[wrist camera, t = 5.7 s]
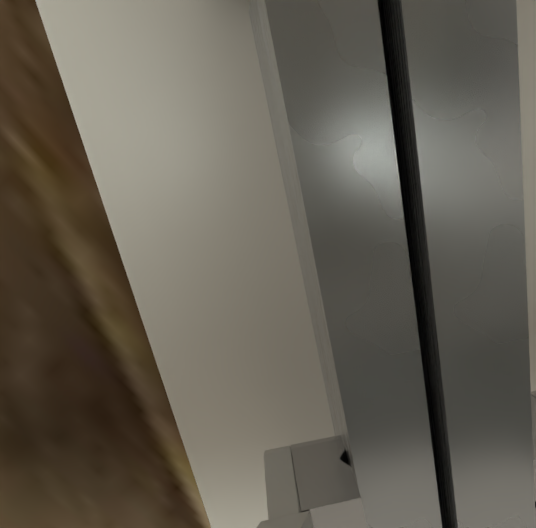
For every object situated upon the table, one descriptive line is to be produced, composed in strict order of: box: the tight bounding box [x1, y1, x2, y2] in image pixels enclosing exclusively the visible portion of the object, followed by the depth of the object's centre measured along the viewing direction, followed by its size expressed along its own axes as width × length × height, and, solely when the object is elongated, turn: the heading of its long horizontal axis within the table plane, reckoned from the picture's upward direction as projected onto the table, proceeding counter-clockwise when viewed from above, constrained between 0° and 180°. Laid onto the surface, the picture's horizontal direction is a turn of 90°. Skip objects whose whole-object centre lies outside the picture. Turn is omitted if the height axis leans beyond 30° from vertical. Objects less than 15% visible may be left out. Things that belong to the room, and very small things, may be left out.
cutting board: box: [35, 0, 536, 528], centre depth 12 cm, size 32×12×1 cm, turn 12°
